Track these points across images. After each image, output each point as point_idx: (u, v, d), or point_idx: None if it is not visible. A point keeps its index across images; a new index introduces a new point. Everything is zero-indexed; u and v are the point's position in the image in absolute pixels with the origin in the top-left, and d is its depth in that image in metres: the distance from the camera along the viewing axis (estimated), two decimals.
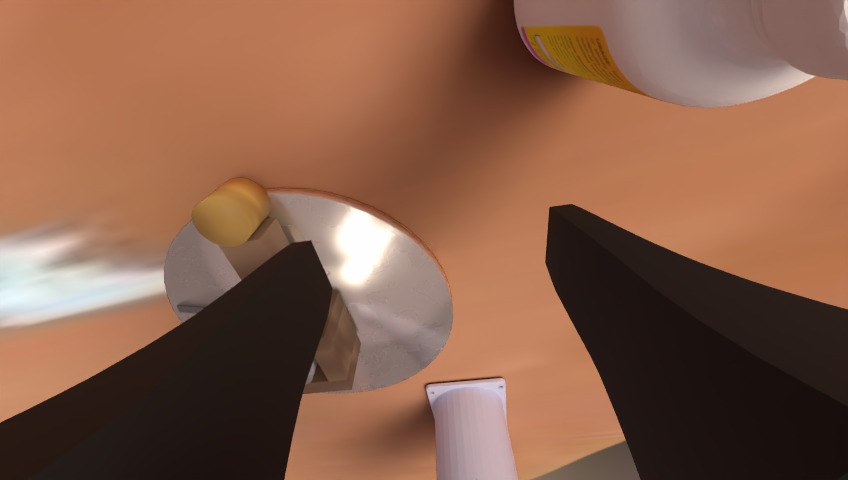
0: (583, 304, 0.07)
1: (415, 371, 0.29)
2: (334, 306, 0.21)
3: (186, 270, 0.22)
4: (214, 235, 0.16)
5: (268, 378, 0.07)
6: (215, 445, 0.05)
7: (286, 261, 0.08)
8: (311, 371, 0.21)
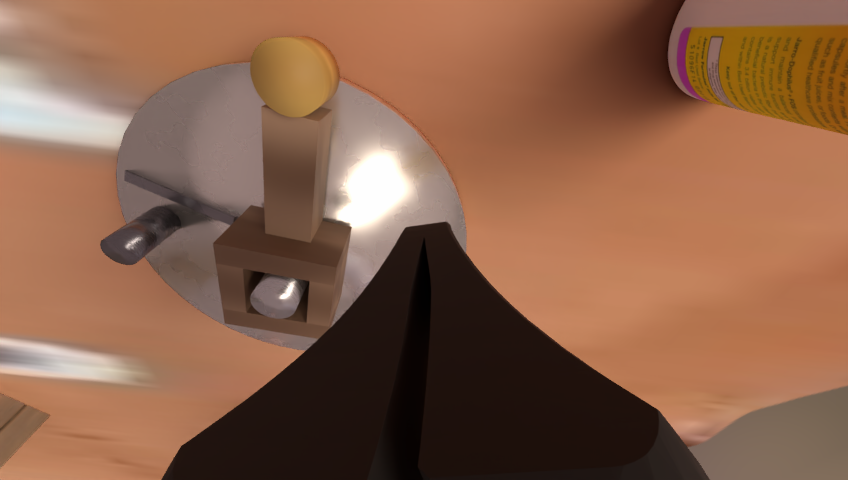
0: None
1: None
2: (347, 240, 0.18)
3: (167, 130, 0.16)
4: (269, 89, 0.12)
5: (425, 363, 0.06)
6: (419, 430, 0.05)
7: (421, 243, 0.08)
8: (296, 305, 0.17)
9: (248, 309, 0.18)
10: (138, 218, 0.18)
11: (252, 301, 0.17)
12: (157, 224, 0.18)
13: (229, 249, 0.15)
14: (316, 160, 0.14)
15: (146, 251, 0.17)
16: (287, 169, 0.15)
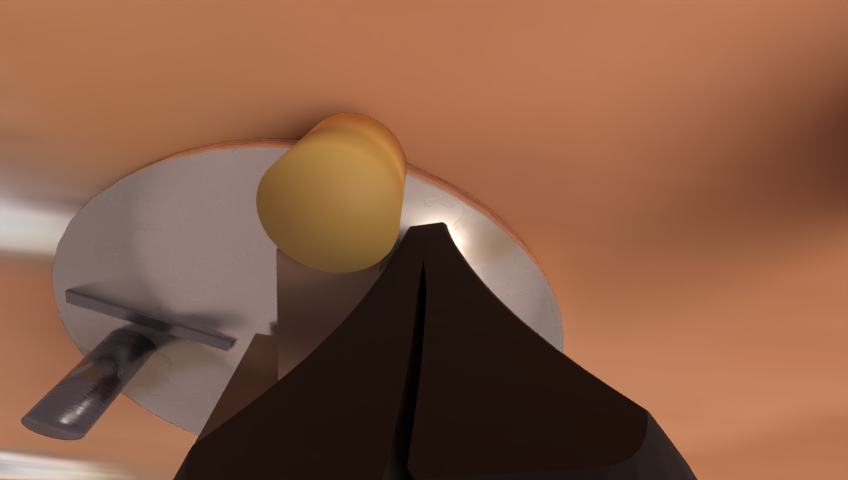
0: None
1: None
2: None
3: (125, 240, 0.10)
4: (293, 233, 0.06)
5: None
6: None
7: (426, 242, 0.08)
8: None
9: None
10: (87, 362, 0.12)
11: None
12: (117, 366, 0.12)
13: None
14: None
15: (97, 417, 0.11)
16: (319, 330, 0.09)
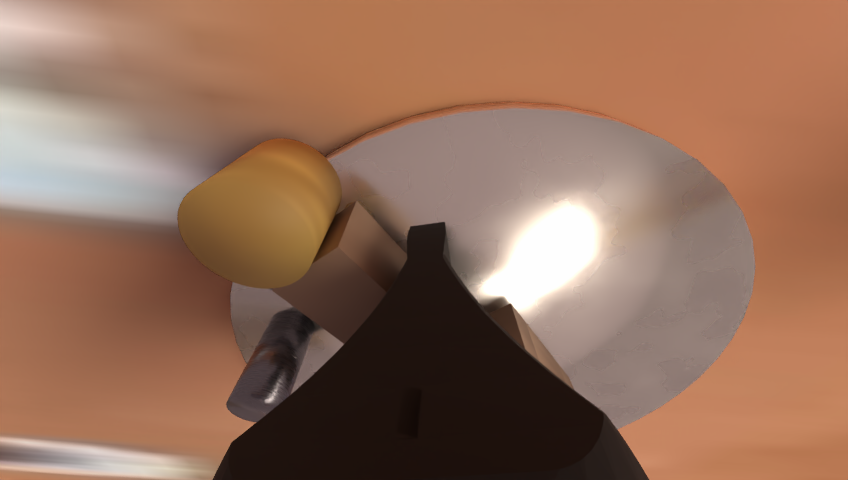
0: None
1: None
2: (521, 333, 0.11)
3: None
4: (249, 271, 0.07)
5: None
6: None
7: (444, 240, 0.08)
8: None
9: None
10: (270, 342, 0.11)
11: None
12: (296, 347, 0.12)
13: None
14: (387, 290, 0.08)
15: None
16: None
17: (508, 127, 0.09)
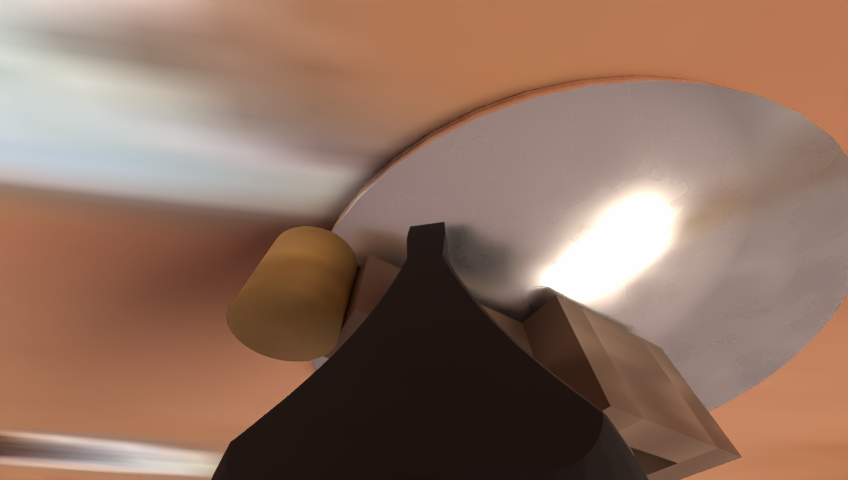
0: None
1: None
2: (572, 325, 0.10)
3: (435, 195, 0.09)
4: (296, 349, 0.09)
5: None
6: None
7: (443, 240, 0.08)
8: None
9: None
10: None
11: None
12: None
13: None
14: None
15: None
16: None
17: (640, 102, 0.08)
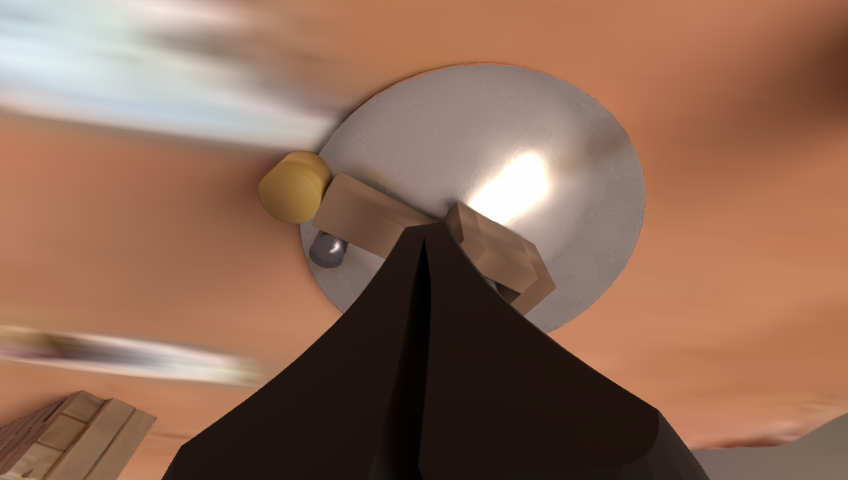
0: None
1: None
2: (460, 213, 0.17)
3: (376, 132, 0.16)
4: (295, 214, 0.15)
5: (425, 363, 0.06)
6: (419, 430, 0.05)
7: (421, 243, 0.08)
8: None
9: None
10: None
11: None
12: None
13: None
14: (362, 205, 0.16)
15: (344, 255, 0.17)
16: (365, 231, 0.16)
17: (481, 76, 0.15)
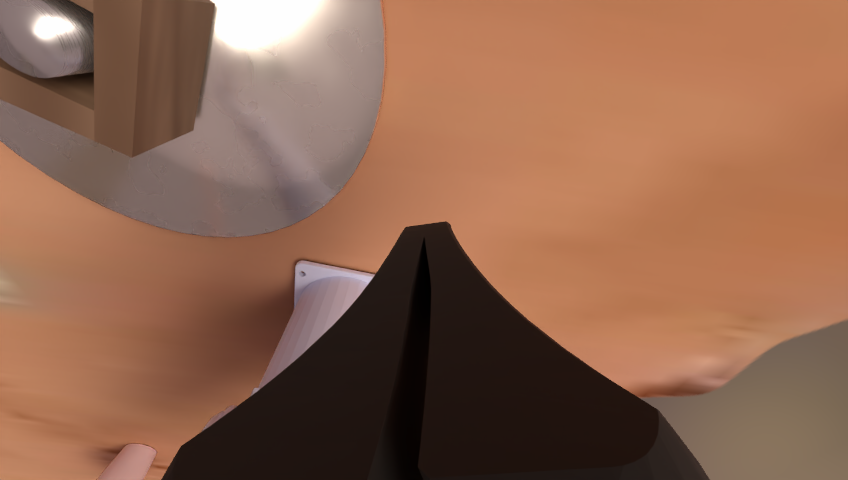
0: None
1: (287, 221, 0.19)
2: None
3: None
4: None
5: (425, 363, 0.06)
6: (419, 430, 0.05)
7: (421, 243, 0.08)
8: (64, 44, 0.10)
9: (99, 108, 0.12)
10: None
11: None
12: None
13: None
14: None
15: None
16: None
17: None
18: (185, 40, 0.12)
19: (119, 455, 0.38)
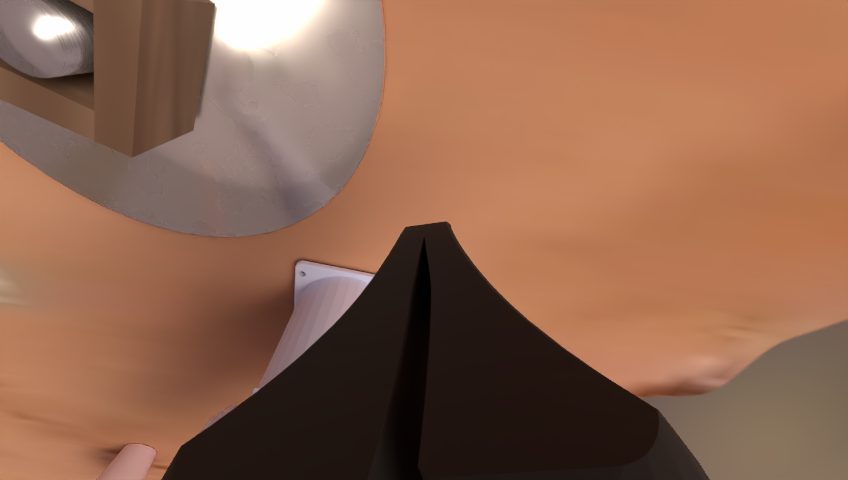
0: None
1: (287, 221, 0.19)
2: None
3: None
4: None
5: (425, 363, 0.06)
6: (419, 430, 0.05)
7: (421, 243, 0.08)
8: (64, 44, 0.10)
9: (99, 108, 0.12)
10: None
11: None
12: None
13: None
14: None
15: None
16: None
17: None
18: (185, 40, 0.12)
19: (119, 455, 0.38)
